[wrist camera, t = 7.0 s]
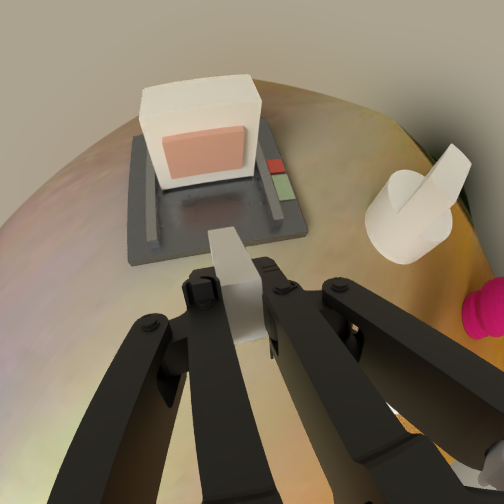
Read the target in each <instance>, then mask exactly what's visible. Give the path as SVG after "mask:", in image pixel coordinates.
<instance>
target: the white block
mask: <svg viewBox="0 0 504 504" xmlns="http://www.w3.org/2000/svg"><path fill="white" fill-rule="evenodd" d="M261 105H262V100H261V98H260V96H259V94H258V91H257V89H256V87H255V85H254V83H253V81H252V79H251V76H250V75H249V74H241V75H227V76H216V77H207V78H199V79H192V80H185V81H179V82H172V83H168V84H162V85H157V86H153V87H147V88H143V93H142V100H141V106H140V113H139V121H140V124H141V128H142V131H143V134H144V138H145V141H146V144H147V147H148V151H149V154H150V157H151V160H152V163H153V166H154V169H155V172H156V175H157V178H158V181H159V184H160V187H161V190H165V189H170V188H176V187H181V186H187V185H193V184H199V183H205V182H212V181H218V180H225V179H232V178H239V177H247V176H253V175H254V166H255V157H256V148H257V140H258V131H259V122H260V114H261Z"/></svg>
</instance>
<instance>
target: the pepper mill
mask: <svg viewBox="0 0 504 504" xmlns="http://www.w3.org/2000/svg"><path fill="white" fill-rule="evenodd" d="M462 320H463V325H464V328H465V330H466V332H467V334H468V335H469V336H470V337H472V338H473V339H480V338H484V337H487V336H488V335H490V336H492V337H500V336H503V335H504V277H498V278H494V279H492V280H489V281H488V282H486V283H485V284H484V286H483V287H482V289H481V290H478V291H475V292H473V293H471V294H469V295H468V296H467V297H466V299H465V301H464V303H463V308H462Z"/></svg>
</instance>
